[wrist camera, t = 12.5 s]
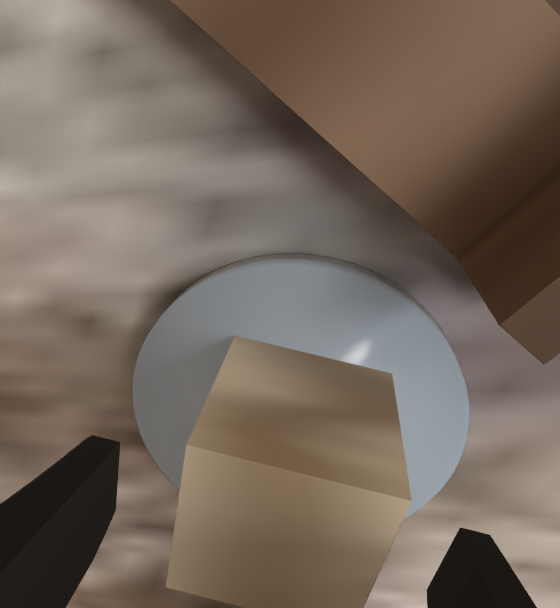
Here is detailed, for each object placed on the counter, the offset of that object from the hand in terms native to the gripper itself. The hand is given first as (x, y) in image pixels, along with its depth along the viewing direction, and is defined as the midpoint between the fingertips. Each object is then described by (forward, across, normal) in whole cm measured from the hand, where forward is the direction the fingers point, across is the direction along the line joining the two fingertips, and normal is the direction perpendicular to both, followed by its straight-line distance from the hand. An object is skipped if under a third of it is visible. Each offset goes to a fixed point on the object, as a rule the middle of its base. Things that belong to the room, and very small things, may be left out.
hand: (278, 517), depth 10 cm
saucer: (+4, 0, 0) cm, 4 cm away
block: (+3, 0, 0) cm, 3 cm away
